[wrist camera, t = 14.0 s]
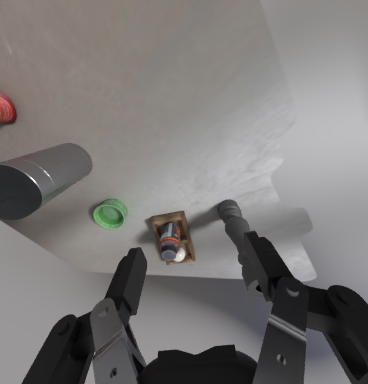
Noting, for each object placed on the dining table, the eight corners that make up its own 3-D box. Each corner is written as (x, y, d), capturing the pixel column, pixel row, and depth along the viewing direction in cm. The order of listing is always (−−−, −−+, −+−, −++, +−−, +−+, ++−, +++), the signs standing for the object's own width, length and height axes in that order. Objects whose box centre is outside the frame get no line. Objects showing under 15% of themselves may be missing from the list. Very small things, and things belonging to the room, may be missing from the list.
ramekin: (95, 210, 50) (87, 219, 46) (108, 191, 47) (102, 199, 43) (120, 225, 53) (115, 234, 49) (134, 207, 50) (130, 216, 46)
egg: (173, 254, 58) (172, 266, 53) (169, 244, 56) (168, 256, 51) (186, 252, 57) (186, 264, 53) (183, 242, 55) (183, 253, 51)
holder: (167, 258, 60) (167, 264, 58) (152, 216, 51) (150, 222, 48) (195, 253, 59) (195, 260, 57) (183, 210, 50) (183, 216, 47)
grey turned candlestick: (216, 215, 51) (242, 297, 29) (219, 199, 48) (251, 275, 26) (235, 216, 51) (275, 297, 29) (239, 199, 48) (287, 276, 26)
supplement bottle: (183, 230, 53) (184, 259, 43) (168, 237, 54) (165, 266, 44) (174, 217, 50) (172, 245, 40) (159, 225, 51) (153, 253, 41)
